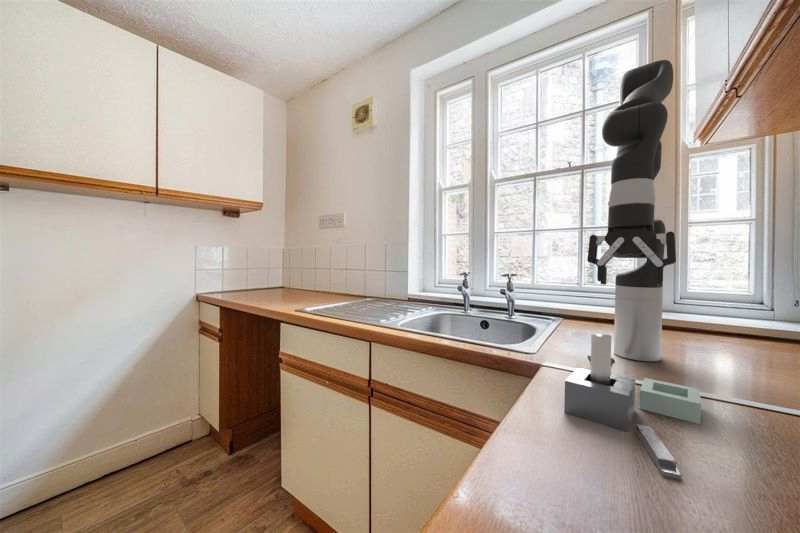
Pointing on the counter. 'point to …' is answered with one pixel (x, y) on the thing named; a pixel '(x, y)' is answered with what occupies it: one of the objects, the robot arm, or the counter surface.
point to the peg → (600, 358)
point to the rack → (671, 400)
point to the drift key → (658, 452)
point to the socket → (600, 399)
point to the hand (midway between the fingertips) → (628, 285)
